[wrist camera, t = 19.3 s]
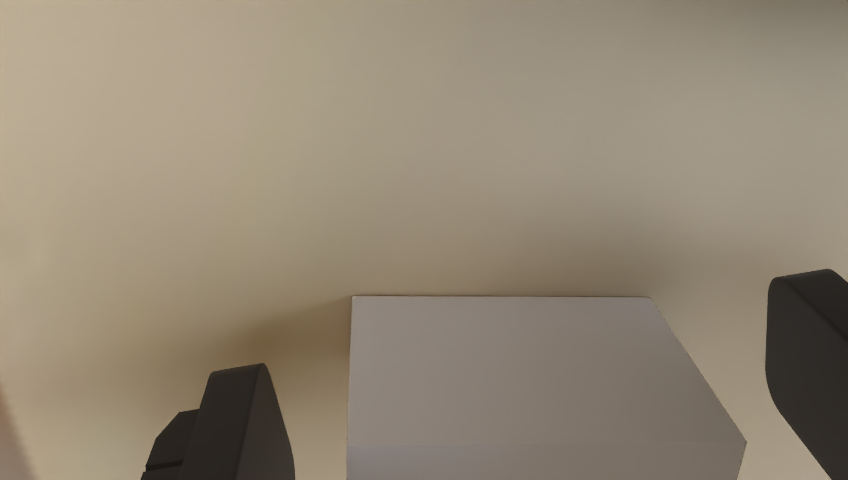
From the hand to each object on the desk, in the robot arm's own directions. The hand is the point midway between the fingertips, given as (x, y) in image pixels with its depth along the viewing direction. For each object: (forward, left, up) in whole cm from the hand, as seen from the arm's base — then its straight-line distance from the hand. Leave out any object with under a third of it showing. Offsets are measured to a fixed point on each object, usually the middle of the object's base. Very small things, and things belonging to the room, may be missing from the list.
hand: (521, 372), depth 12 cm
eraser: (0, 0, -2) cm, 2 cm away
